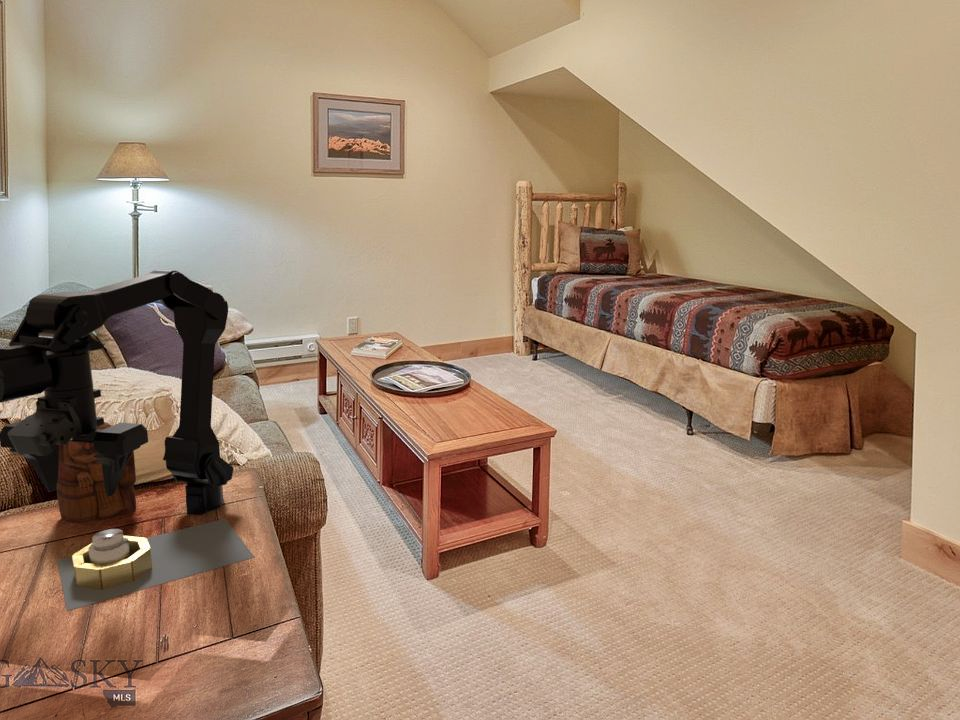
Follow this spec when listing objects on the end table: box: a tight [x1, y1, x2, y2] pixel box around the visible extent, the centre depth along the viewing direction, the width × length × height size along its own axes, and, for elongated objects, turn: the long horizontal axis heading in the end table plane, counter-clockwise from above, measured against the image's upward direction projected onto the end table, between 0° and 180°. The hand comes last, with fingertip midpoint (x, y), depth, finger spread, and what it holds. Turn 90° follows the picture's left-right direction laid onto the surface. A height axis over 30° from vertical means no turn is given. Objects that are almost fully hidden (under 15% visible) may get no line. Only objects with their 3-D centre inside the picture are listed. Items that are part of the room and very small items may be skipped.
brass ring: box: [71, 535, 152, 590], centre depth 91 cm, size 9×9×3 cm
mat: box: [56, 518, 256, 612], centre depth 96 cm, size 24×16×2 cm, turn 127°
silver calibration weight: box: [88, 528, 130, 565], centre depth 91 cm, size 5×5×6 cm
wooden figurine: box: [55, 421, 137, 524], centre depth 109 cm, size 12×6×18 cm, turn 122°
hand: (81, 493), depth 91 cm, fingers open, 9 cm apart
